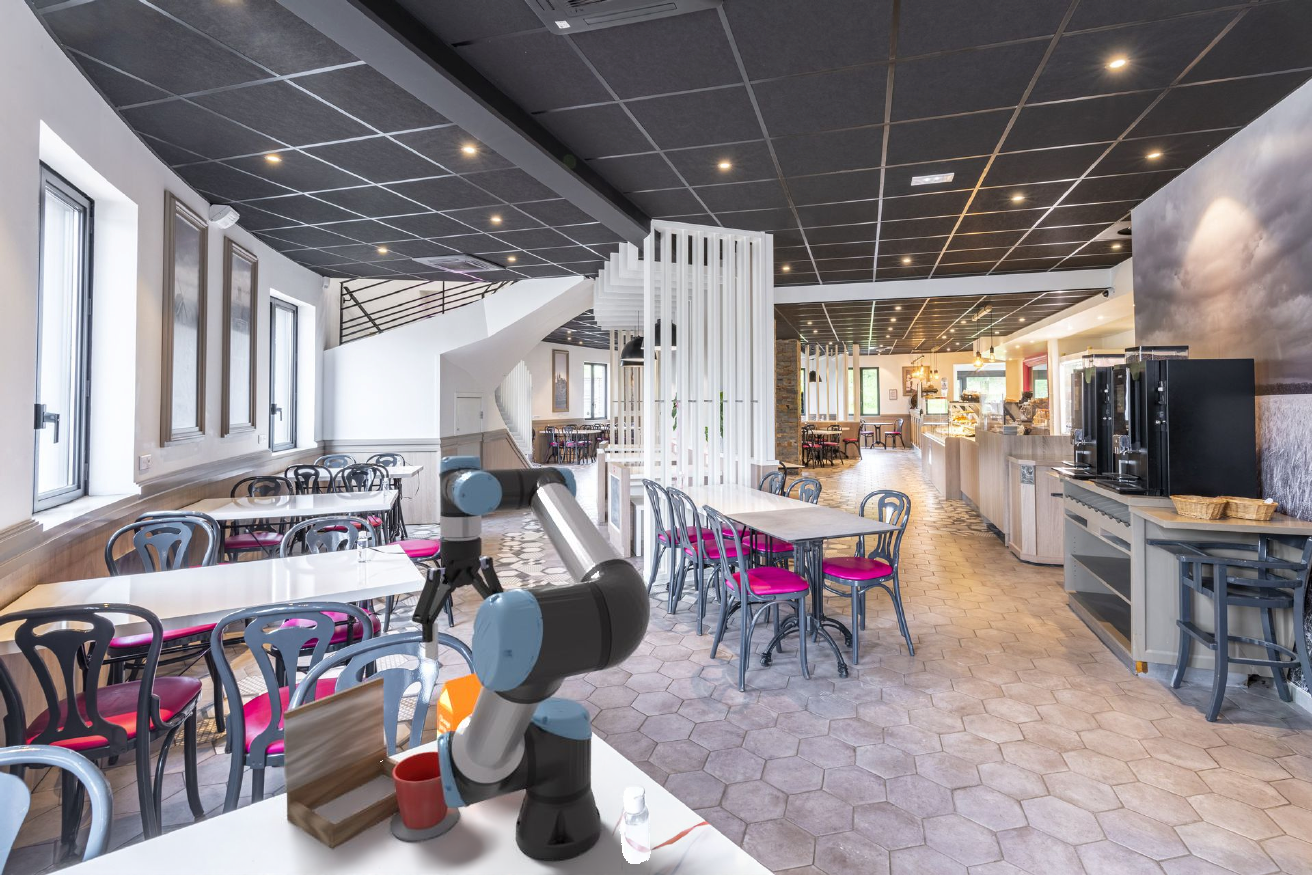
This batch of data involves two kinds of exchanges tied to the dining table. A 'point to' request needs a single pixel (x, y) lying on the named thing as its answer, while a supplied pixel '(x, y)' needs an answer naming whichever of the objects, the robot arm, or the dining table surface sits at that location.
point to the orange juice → (456, 702)
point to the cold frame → (336, 760)
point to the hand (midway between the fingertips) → (461, 647)
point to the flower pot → (420, 790)
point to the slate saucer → (423, 834)
